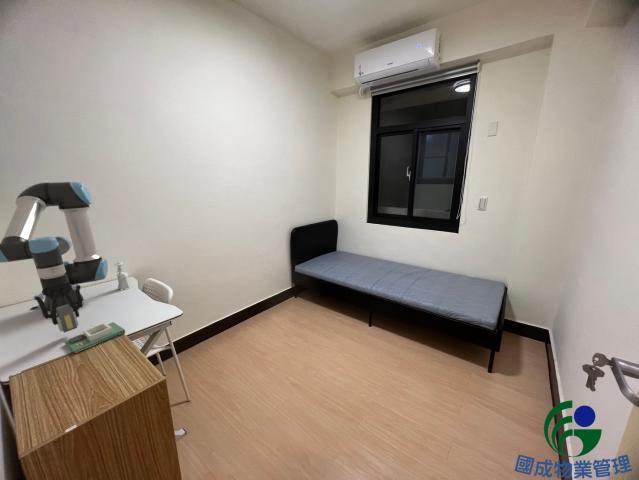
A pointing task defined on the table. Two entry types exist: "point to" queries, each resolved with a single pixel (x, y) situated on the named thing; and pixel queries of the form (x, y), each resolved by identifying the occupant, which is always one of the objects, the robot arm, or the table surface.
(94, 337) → the board
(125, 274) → the figurine
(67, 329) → the plug
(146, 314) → the table surface
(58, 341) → the table surface
